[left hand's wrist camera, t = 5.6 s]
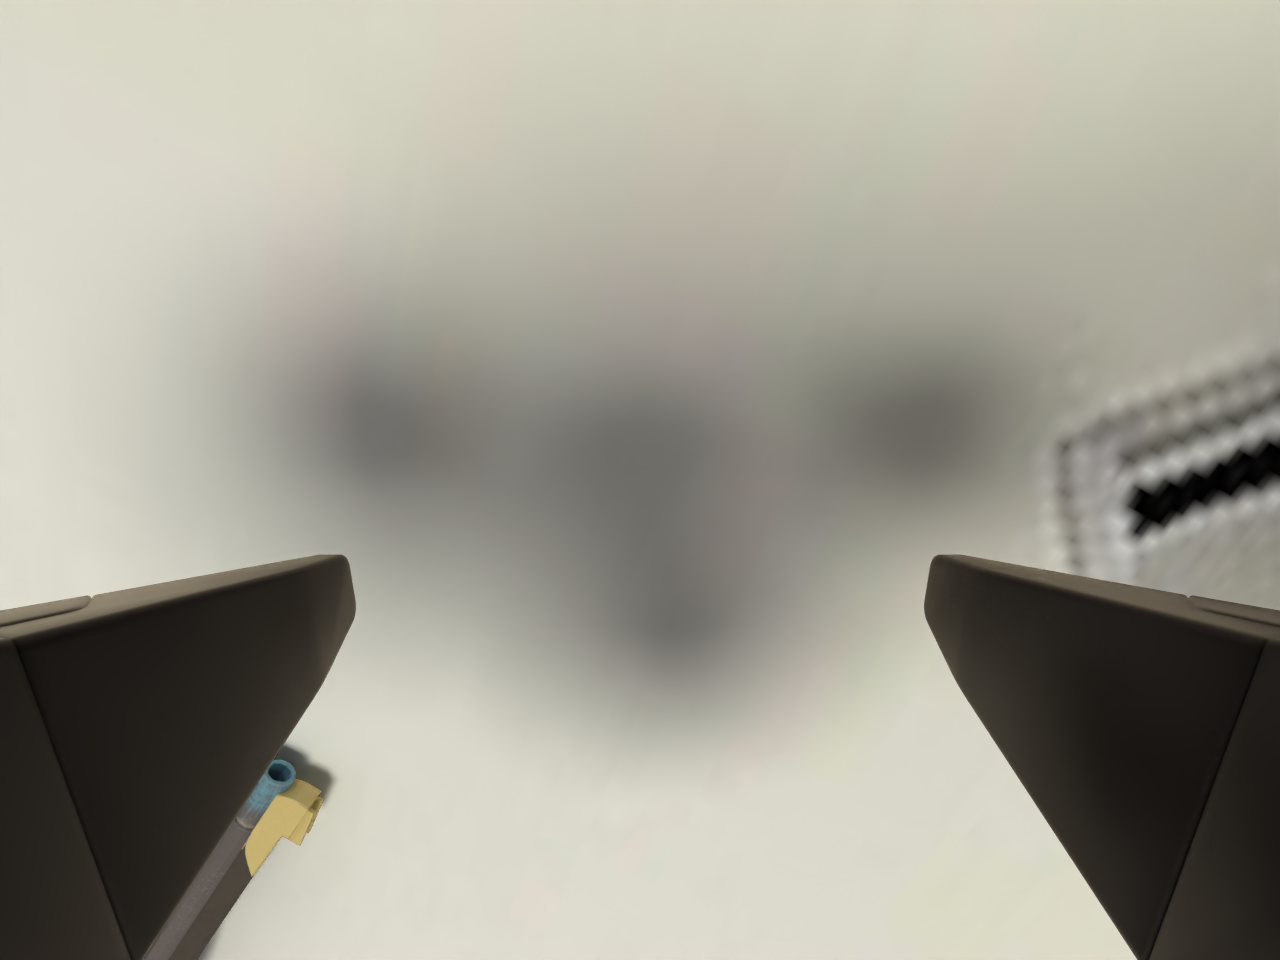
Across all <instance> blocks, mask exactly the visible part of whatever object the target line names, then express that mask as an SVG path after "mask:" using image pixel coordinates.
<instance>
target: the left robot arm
mask: <svg viewBox="0 0 1280 960" xmlns="http://www.w3.org/2000/svg"><path fill="white" fill-rule="evenodd" d="M355 611H356V602H355V595H354V589H353V583H352V577H351V571H350V565H349V562H348V560H347V558H346V557H345V556H343V555H315V556H309V557H304V558H298V559H293V560H287V561H282V562H276V563H271V564H265V565H259V566H254V567H248V568H243V569H237V570H232V571H226V572H221V573H215V574H209V575H204V576H198V577H193V578H187V579H182V580H176V581H171V582H165V583H160V584H154V585H148V586H143V587H137V588H132V589H126V590H121V591H115V592H110V593H104V594H98V595H94V596H93V597H92V599H91V597H90V596H82V597H76V598H71V599H65V600H59V601H53V602H48V603H42V604H36V605H30V606H25V607H19V608H13V609H7V610H1V611H0V960H143V958H144V957H145V955H146V954H147V952H148V951H149V949H150V948H151V946H152V945H153V943H154V941H155V940H156V938H157V937H158V935H159V934H160V932H161V931H162V929H163V928H164V926H165V925H166V923H167V922H168V920H169V919H170V917H171V916H172V914H173V912H174V911H175V909H176V908H177V906H178V905H179V903H180V902H181V900H182V899H183V897H184V896H185V894H186V893H187V891H188V890H189V888H190V886H191V885H192V883H193V882H194V880H195V879H196V877H197V876H198V874H199V873H200V871H201V870H202V868H203V867H204V865H205V864H206V862H207V861H208V859H209V857H210V856H211V854H212V853H213V851H214V850H215V848H216V847H217V845H218V844H219V842H220V841H221V839H222V838H223V836H224V835H225V833H226V831H227V830H228V828H229V827H230V825H231V824H232V822H233V821H234V819H235V818H236V816H237V815H238V813H239V812H240V810H241V809H242V807H243V806H244V804H245V802H246V801H247V799H248V798H249V796H250V795H251V793H252V792H253V790H254V789H255V787H256V786H257V784H258V783H259V781H260V780H261V778H262V777H263V775H264V773H265V772H266V770H267V769H268V767H269V766H270V764H271V763H272V761H273V760H274V758H275V757H276V755H277V754H278V752H279V751H280V749H281V747H282V746H283V744H284V743H285V741H286V740H287V738H288V737H289V735H290V734H291V732H292V731H293V729H294V728H295V726H296V725H297V723H298V722H299V720H300V718H301V717H302V715H303V714H304V712H305V711H306V709H307V708H308V706H309V705H310V703H311V702H312V700H313V699H314V697H315V695H316V694H317V692H318V691H319V689H320V687H321V686H322V684H323V682H324V680H325V678H326V676H327V674H328V672H329V670H330V668H331V666H332V664H333V662H334V660H335V658H336V656H337V654H338V652H339V650H340V647H341V645H342V643H343V641H344V639H345V637H346V635H347V633H348V631H349V629H350V627H351V624H352V622H353V620H354V617H355ZM924 611H925V617H926V620H927V622H928V624H929V627H930V629H931V631H932V633H933V635H934V637H935V639H936V641H937V643H938V645H939V647H940V650H941V652H942V654H943V656H944V658H945V660H946V662H947V664H948V666H949V668H950V670H951V672H952V674H953V676H954V678H955V680H956V682H957V684H958V686H959V687H960V689H961V691H962V692H963V694H964V695H965V697H966V699H967V700H968V702H969V703H970V705H971V706H972V708H973V709H974V711H975V712H976V714H977V715H978V717H979V718H980V720H981V721H982V723H983V725H984V726H985V728H986V729H987V731H988V732H989V734H990V735H991V737H992V738H993V740H994V741H995V743H996V744H997V746H998V747H999V749H1000V750H1001V752H1002V754H1003V755H1004V757H1005V758H1006V760H1007V761H1008V763H1009V764H1010V766H1011V767H1012V769H1013V770H1014V772H1015V773H1016V775H1017V776H1018V778H1019V779H1020V781H1021V783H1022V784H1023V786H1024V787H1025V789H1026V790H1027V792H1028V793H1029V795H1030V796H1031V798H1032V799H1033V801H1034V802H1035V804H1036V805H1037V807H1038V808H1039V810H1040V812H1041V813H1042V815H1043V816H1044V818H1045V819H1046V821H1047V822H1048V824H1049V825H1050V827H1051V828H1052V830H1053V831H1054V833H1055V834H1056V836H1057V838H1058V839H1059V841H1060V842H1061V844H1062V845H1063V847H1064V848H1065V850H1066V851H1067V853H1068V854H1069V856H1070V857H1071V859H1072V860H1073V862H1074V863H1075V865H1076V867H1077V868H1078V870H1079V871H1080V873H1081V874H1082V876H1083V877H1084V879H1085V880H1086V882H1087V883H1088V885H1089V886H1090V888H1091V889H1092V891H1093V893H1094V894H1095V896H1096V897H1097V899H1098V900H1099V902H1100V903H1101V905H1102V906H1103V908H1104V909H1105V911H1106V912H1107V914H1108V915H1109V917H1110V919H1111V920H1112V922H1113V923H1114V925H1115V926H1116V928H1117V929H1118V931H1119V932H1120V934H1121V935H1122V937H1123V938H1124V940H1125V941H1126V943H1127V945H1128V946H1129V948H1130V949H1131V951H1132V952H1133V954H1134V955H1135V957H1136V958H1137V960H1280V611H1279V610H1273V609H1267V608H1261V607H1255V606H1250V605H1244V604H1238V603H1232V602H1227V601H1221V600H1215V599H1209V598H1204V597H1198V596H1190V597H1189V598H1188V597H1187V596H1186V595H1182V594H1177V593H1171V592H1166V591H1160V590H1154V589H1149V588H1143V587H1138V586H1132V585H1127V584H1121V583H1115V582H1110V581H1104V580H1099V579H1093V578H1088V577H1082V576H1076V575H1071V574H1065V573H1060V572H1054V571H1049V570H1043V569H1037V568H1032V567H1026V566H1021V565H1015V564H1010V563H1004V562H999V561H993V560H987V559H982V558H976V557H971V556H965V555H937V556H935V557H934V558H933V560H932V562H931V565H930V571H929V577H928V583H927V589H926V595H925V602H924Z"/></svg>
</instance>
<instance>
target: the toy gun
mask: <svg viewBox="0 0 1280 960" xmlns="http://www.w3.org/2000/svg"><path fill="white" fill-rule="evenodd" d="M295 777H296V771H295V769H294V767H293V765H291V764H290V763H289V762H287V761H284V760H282V759H281V760H273V761H272V763H271V764H270V766H269V767H268V769H267V770H266V772H265V773H264V775H263V777H262V778H261V780H260V781H259V783H258V784H257V786H256V787H255V789H254V790H253V792H252V793H251V795H250V796H249V798H248V799H247V801H246V802H245V804H244V806H243V807H242V809H241V810H240V812H239V813H238V815H237V816H236V818H235V819H234V821H233V822H232V824H231V825H230V827H229V828H228V830H227V831H226V833H225V835H224V836H223V838H222V839H221V841H220V842H219V844H218V845H217V847H216V848H215V850H214V851H213V853H212V854H211V856H210V857H209V859H208V861H207V862H206V864H205V865H204V867H203V868H202V870H201V871H200V873H199V874H198V876H197V877H196V879H195V880H194V882H193V883H192V885H191V886H190V888H189V890H188V891H187V893H186V894H185V896H184V897H183V899H182V900H181V902H180V903H179V905H178V906H177V908H176V909H175V911H174V912H173V914H172V916H171V917H170V919H169V920H168V922H167V923H166V925H165V926H164V928H163V929H162V931H161V932H160V934H159V935H158V937H157V938H156V940H155V941H154V943H153V945H152V946H151V948H150V949H149V951H148V952H147V954H146V955H145V957H144V958H143V960H197V959H198V957H199V955H200V954H201V952H202V951H203V949H204V948H205V946H206V945H207V943H208V942H209V940H210V939H211V937H212V936H213V935H214V933H215V932H216V930H217V929H218V927H219V926H220V924H221V923H222V921H223V920H224V918H225V917H226V915H227V914H228V913H229V911H230V910H231V908H232V907H233V905H234V904H235V902H236V901H237V899H238V898H239V896H240V895H241V893H242V892H243V890H244V889H245V888H246V886H247V885H248V883H249V882H250V880H251V879H252V877H253V876H254V875H255V873H256V872H257V871H258V869H259V868H260V867H261V865H262V864H263V862H264V861H265V860H266V858H267V857H268V856H269V854H270V853H271V851H272V850H273V849H274V847H275V846H276V844H277V843H278V841H279V840H280V838H281V837H282V836H283V837H285V838H287V839H288V840H290V841H292V842H294V843H296V844H297V845H299V846H300V845H301V843H302V841H303V839H304V837H305V834H306V833H309V832H310V830H311V828H312V826H313V823H314V821H315V819H316V816H317V814H318V812H319V809H320V807H321V805H322V802H323V800H324V799H323V798H321V797H320V796H319V794H320V793H321V791H320V790H319V789H317V788H315V787H314V786H312V785H311V784H309V783H307V782H305V781H302V780H299V779H295Z"/></svg>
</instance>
